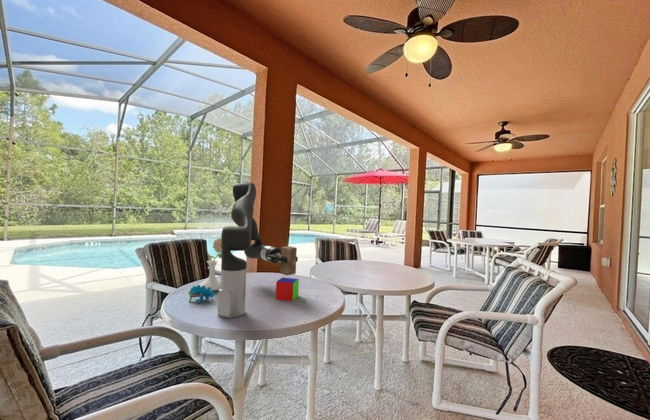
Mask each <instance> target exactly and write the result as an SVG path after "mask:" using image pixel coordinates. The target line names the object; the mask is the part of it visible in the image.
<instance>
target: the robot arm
mask: <svg viewBox="0 0 650 420" xmlns="http://www.w3.org/2000/svg"><path fill="white" fill-rule="evenodd" d="M256 187H257V186H256V185H255V183H253V182H250V181H247V182H241V183H235V184H233V186H232V195H233V199H234V204H232V207H231V208H232V209H231V213H230V216H231V219H232V221H233V222H234V223H235V224H236V226H228V225H227V226H224V227H223V228H222V230H221V235H220V238H221V245H222V258H221V264H220V265H221V266H220V267H221V269H220V271H221V272H220V281H221V289H220V290H217V292H218V294H217V295H218V296H217V316H220V317H223V318H227V319H232V318H237V317H241V316H243V315H245V313H246V296H247V295H246V291H247V290H246V289H247V268H248V267H247V266H248V265H247V261H246V260H245V259H244V258H240V257H237V256H236V255H234V254H233V253H232V252H233V251H236V252H237V251H238V252H244V254H245V256H246V257H247V258H249V259H261V260H264V261H266V262H269V263H272V264H278V263H281V262H284V263H287V262H288V259H287V258H285V257H282V256H281V248H280V247H275V246H271V245H265V244H264V243H263V241H262V238H261V236H260V234H259V229H258V228H259V227H258V223H257V221H256V220H255V218H254V212H255V211H254V207H255V201H256V198H257V188H256ZM252 241H254V242H252ZM298 259H299V258H298V256H296V263H297V262H298Z"/></svg>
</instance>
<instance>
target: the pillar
mask: <svg viewBox="0 0 650 420" xmlns="http://www.w3.org/2000/svg"><path fill="white" fill-rule="evenodd" d="M280 249H281V256H282V257H285V258H287V259H288V262H287V263H284V262H280V266H279V267H280V271H279V272H280V273H279V274H281V275H285V276H291V275H296V271H297V262H296V257H297V253H298V252H297V251H298V250H297V247H296V246H295V247H294V246H281V247H280Z"/></svg>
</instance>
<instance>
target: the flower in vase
mask: <svg viewBox="0 0 650 420" xmlns="http://www.w3.org/2000/svg"><path fill="white" fill-rule="evenodd" d="M212 248H213V249H214V251H215V253H217V254H216V256H213V255H210V254H207V256H208V258H212V259H213V260H210V259H209V260H207V261H206V262H207V264H208V266H209V267H208V268H209V275H208V277H207V278H206V279H205V280H203V281H202V282H201V283H200V284H199V285H200V287H202V286H206V287H205V288H206V289H207V288H208V287H210V288H211V289H210V290H209V291H211V290H214V292H216V291H217V292H218V291H219V290H220V289H221V279H219V278H217V277H216V274H215V272H216V266H217V263H218V262H219V260H216V259H217V257H218V258H219V259H222V245H221V237H219V238H216V239H214V241H213V244H212Z"/></svg>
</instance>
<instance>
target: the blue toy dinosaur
mask: <svg viewBox="0 0 650 420" xmlns="http://www.w3.org/2000/svg"><path fill="white" fill-rule="evenodd" d="M205 287H206V286H202V287H200V284H197V285H196V286H195V285H193V286H192V287H191V288H190V290H188V293H187V294H188V295H189V300H188V303H191V302H192V299H193V298H198V300H197V301H198V302H197V303H198V304H201V303H202V299H204V298H205V299H210V298H213V296H216V295H215V294H216V293H215V291H214V290H211V291H209V290H210V289H211V288H210V287H208V288H207V289H206V288H205Z"/></svg>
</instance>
